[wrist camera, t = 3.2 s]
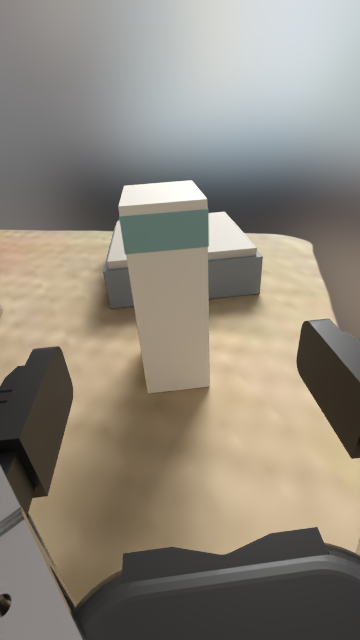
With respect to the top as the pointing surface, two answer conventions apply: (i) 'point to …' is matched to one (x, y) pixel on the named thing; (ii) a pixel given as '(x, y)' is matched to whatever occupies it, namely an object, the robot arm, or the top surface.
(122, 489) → the top surface
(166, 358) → the carton
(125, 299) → the podium
